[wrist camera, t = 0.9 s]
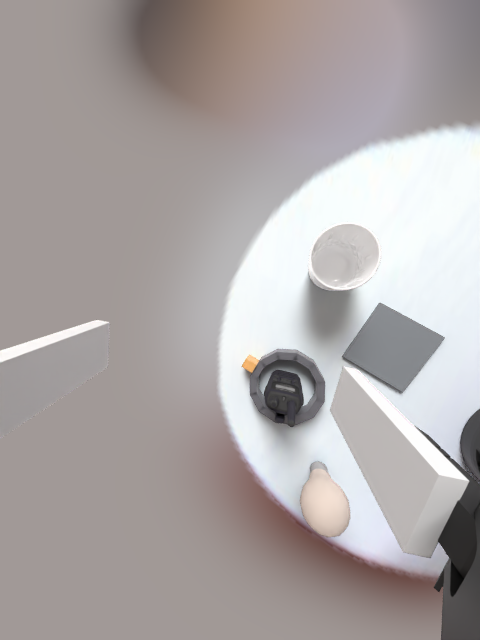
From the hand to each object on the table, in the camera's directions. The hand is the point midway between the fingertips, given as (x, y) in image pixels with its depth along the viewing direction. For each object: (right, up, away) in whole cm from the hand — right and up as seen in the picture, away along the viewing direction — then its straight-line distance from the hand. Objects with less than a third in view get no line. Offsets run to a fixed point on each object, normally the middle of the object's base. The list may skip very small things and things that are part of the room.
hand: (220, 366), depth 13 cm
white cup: (+16, +11, +24) cm, 31 cm away
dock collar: (+8, -8, +27) cm, 29 cm away
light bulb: (+15, -23, +27) cm, 38 cm away
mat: (+24, -2, +23) cm, 33 cm away
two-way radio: (+9, -8, +27) cm, 30 cm away
